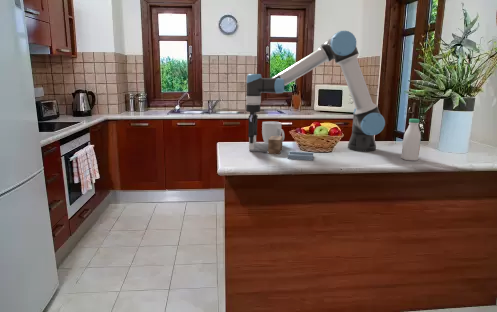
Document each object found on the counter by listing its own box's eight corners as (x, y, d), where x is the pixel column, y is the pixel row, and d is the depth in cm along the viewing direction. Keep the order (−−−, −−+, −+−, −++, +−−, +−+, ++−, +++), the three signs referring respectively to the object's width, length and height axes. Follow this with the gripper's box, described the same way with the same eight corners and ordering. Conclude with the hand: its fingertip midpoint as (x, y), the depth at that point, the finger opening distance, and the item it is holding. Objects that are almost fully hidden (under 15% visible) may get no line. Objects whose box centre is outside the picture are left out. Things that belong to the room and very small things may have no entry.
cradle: (313, 156, 178) (313, 152, 178) (312, 160, 170) (312, 156, 169) (289, 154, 181) (289, 151, 180) (287, 158, 172) (287, 154, 172)
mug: (289, 146, 203) (290, 123, 200) (277, 148, 196) (277, 125, 193) (270, 142, 214) (271, 120, 211) (257, 144, 206) (258, 122, 203)
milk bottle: (417, 161, 170) (422, 120, 166) (399, 159, 174) (404, 119, 170) (419, 158, 176) (424, 118, 172) (402, 156, 180) (407, 117, 176)
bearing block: (282, 149, 192) (282, 136, 191) (279, 154, 181) (280, 140, 180) (271, 149, 194) (271, 135, 192) (268, 153, 183) (268, 139, 181)
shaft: (278, 150, 189) (278, 143, 188) (277, 152, 185) (277, 144, 184) (250, 149, 192) (251, 142, 191) (249, 150, 188) (249, 143, 187)
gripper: (249, 102, 193) (248, 144, 198) (242, 105, 177) (242, 150, 182) (263, 103, 192) (262, 145, 197) (257, 105, 175) (256, 151, 181)
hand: (252, 147), depth 190 cm, fingers closed on shaft, 4 cm apart
